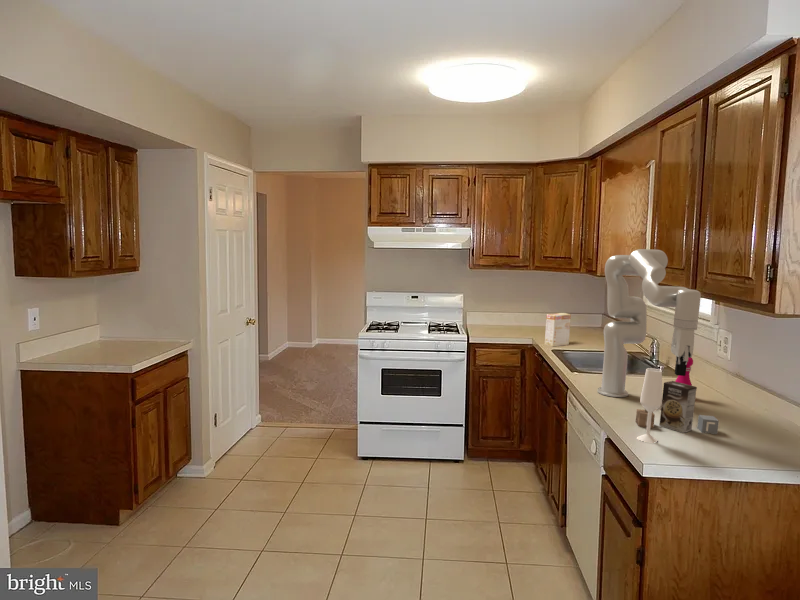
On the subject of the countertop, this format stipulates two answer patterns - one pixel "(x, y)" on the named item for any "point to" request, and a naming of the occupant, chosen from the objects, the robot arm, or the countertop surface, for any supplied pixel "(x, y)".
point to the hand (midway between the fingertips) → (679, 374)
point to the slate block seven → (708, 424)
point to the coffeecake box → (557, 329)
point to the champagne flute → (651, 398)
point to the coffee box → (677, 406)
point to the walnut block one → (644, 418)
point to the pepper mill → (686, 378)
